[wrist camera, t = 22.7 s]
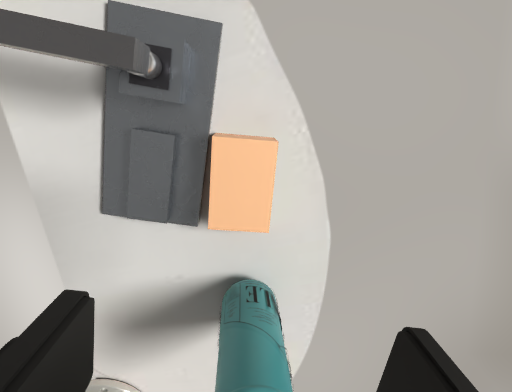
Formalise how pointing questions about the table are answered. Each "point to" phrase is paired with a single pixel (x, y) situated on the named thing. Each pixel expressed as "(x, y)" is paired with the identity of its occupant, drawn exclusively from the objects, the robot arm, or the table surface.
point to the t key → (77, 43)
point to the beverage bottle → (251, 341)
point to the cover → (241, 182)
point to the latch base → (159, 117)
